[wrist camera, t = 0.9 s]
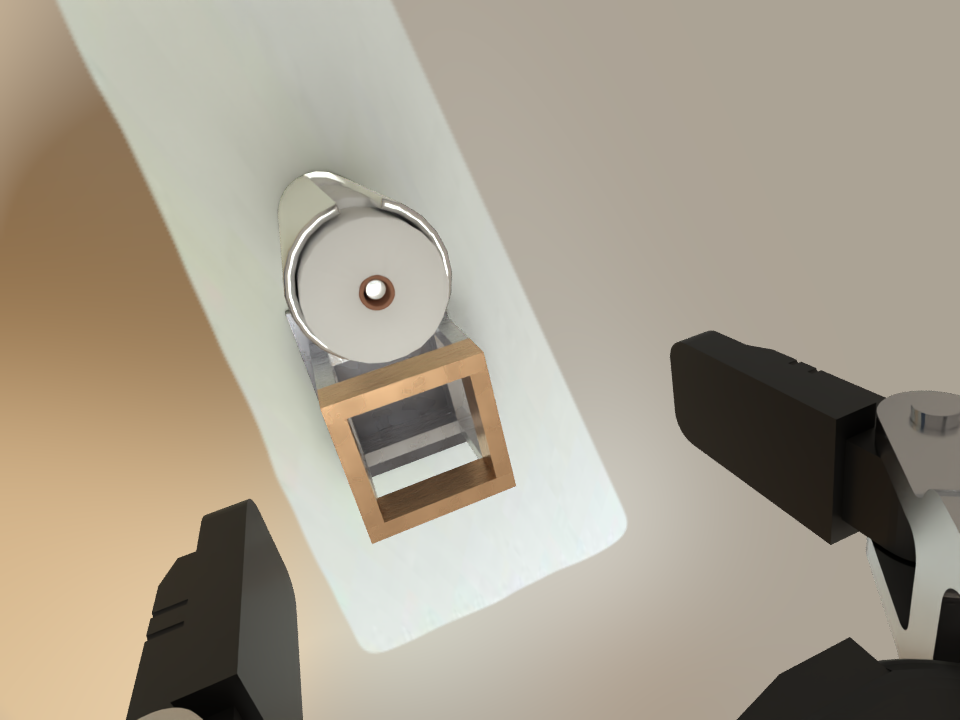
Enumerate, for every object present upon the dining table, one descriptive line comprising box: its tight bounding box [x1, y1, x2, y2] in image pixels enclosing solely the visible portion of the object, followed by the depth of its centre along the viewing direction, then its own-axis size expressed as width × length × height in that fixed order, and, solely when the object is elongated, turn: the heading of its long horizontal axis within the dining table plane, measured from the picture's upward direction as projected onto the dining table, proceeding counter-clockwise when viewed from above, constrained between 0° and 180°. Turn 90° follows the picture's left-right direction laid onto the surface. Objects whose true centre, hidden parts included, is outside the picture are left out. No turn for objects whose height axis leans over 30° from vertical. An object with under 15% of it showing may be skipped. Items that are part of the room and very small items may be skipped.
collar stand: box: [285, 310, 516, 544], centre depth 44 cm, size 16×12×14 cm
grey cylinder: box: [278, 172, 452, 363], centre depth 33 cm, size 6×6×25 cm
